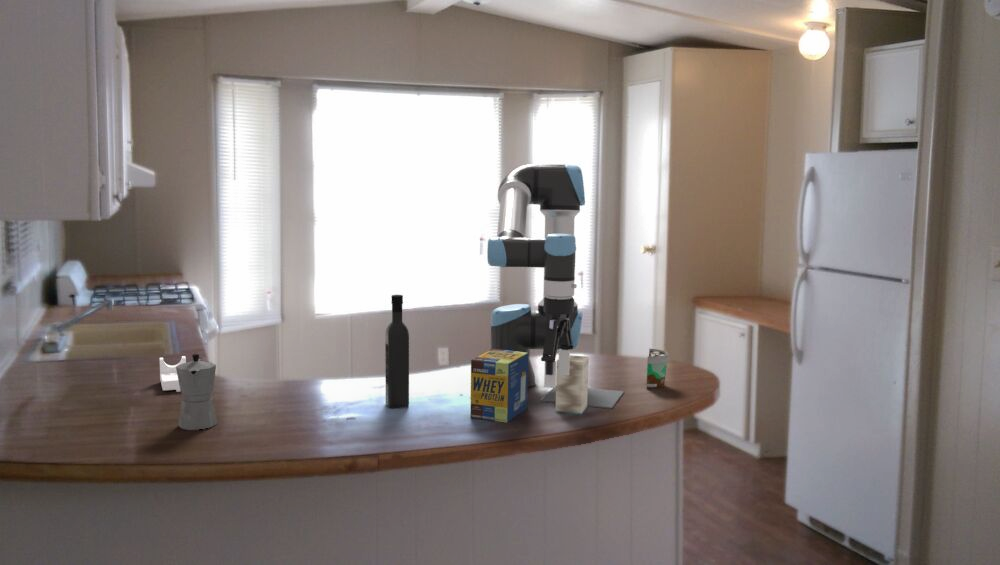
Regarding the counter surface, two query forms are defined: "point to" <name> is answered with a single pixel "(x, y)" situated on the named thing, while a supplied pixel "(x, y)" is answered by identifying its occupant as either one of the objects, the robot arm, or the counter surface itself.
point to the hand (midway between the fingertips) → (557, 381)
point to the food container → (656, 368)
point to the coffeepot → (196, 394)
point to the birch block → (573, 386)
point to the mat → (592, 397)
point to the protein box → (499, 385)
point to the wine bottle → (397, 358)
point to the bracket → (170, 375)
